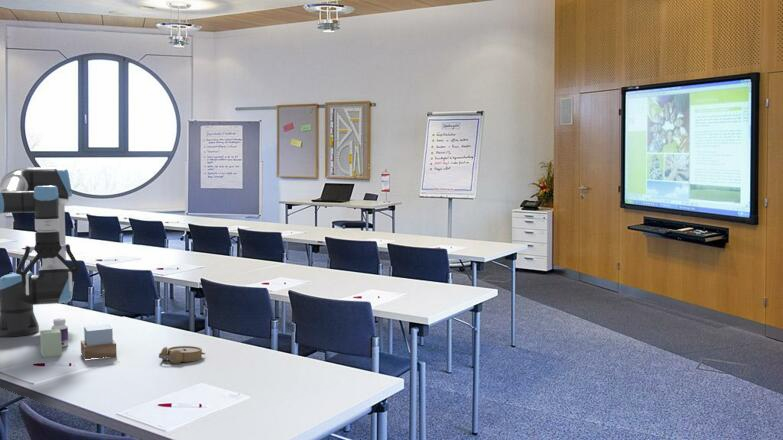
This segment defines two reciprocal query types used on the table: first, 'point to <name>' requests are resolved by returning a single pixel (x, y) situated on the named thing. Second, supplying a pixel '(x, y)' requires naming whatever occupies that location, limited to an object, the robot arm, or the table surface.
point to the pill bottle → (63, 328)
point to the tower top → (98, 335)
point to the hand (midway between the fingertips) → (49, 292)
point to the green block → (51, 343)
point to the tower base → (98, 350)
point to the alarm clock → (181, 354)
